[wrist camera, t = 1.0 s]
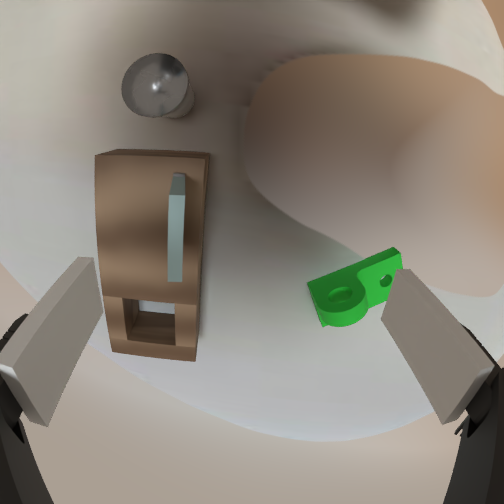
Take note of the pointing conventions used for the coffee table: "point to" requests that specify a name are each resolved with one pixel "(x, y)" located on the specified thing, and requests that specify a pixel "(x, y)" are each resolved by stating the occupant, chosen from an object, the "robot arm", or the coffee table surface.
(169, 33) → the coffee table surface
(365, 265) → the mechanical part
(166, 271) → the block
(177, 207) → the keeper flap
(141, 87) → the grey cylinder
